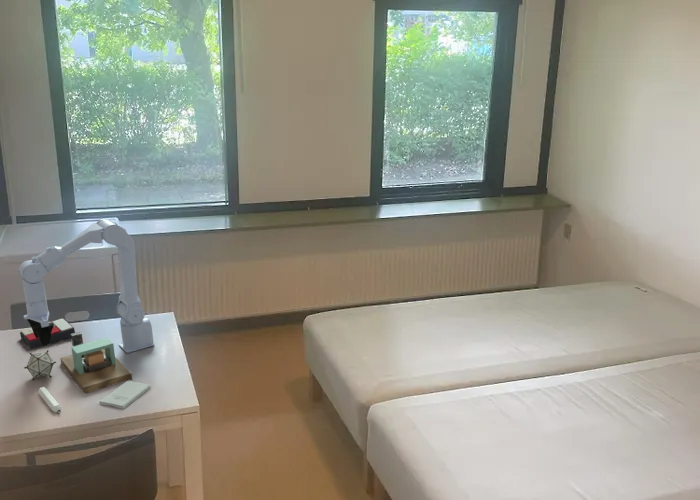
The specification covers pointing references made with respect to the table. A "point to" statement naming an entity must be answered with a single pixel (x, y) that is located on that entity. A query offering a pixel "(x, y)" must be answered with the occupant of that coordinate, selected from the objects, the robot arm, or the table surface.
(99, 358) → the block
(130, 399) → the external hard drive
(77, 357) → the tunnel
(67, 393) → the table surface
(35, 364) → the game die
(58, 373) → the table surface
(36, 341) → the sliding block puzzle
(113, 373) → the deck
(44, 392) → the marker
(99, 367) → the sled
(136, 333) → the robot arm
